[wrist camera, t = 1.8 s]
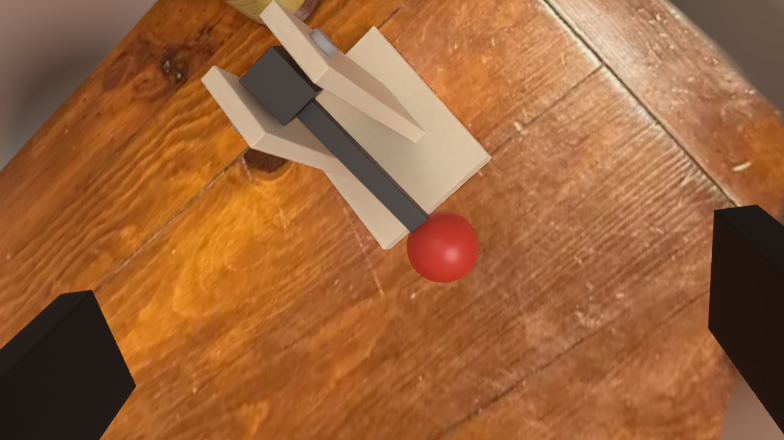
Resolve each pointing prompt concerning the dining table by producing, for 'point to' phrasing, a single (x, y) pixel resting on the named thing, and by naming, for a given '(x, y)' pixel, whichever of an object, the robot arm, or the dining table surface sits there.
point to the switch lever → (364, 168)
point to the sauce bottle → (253, 3)
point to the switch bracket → (360, 121)
